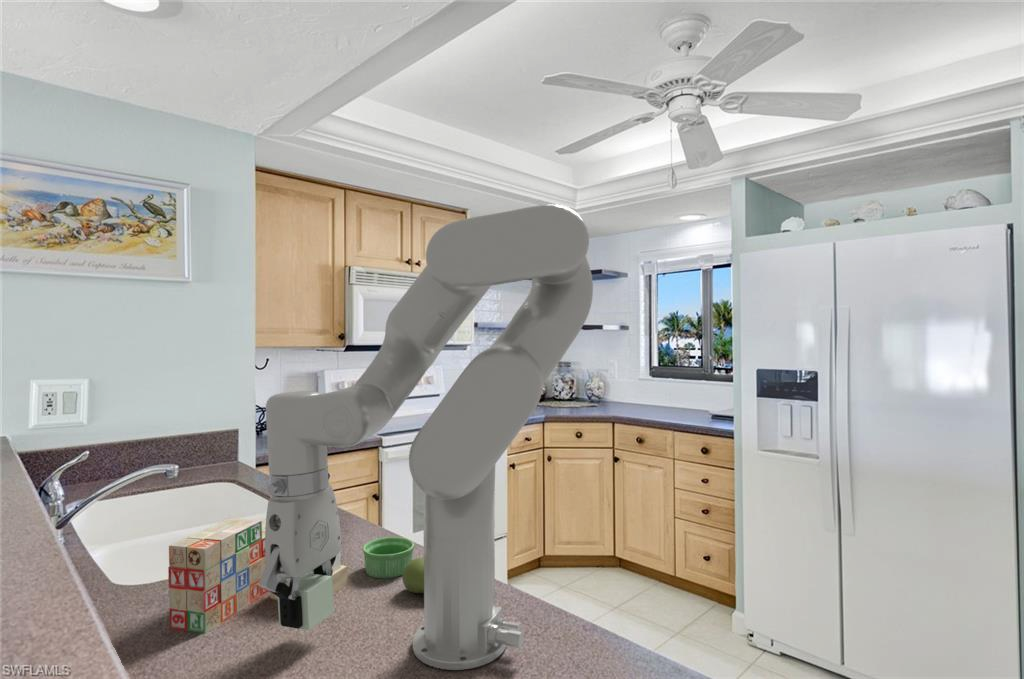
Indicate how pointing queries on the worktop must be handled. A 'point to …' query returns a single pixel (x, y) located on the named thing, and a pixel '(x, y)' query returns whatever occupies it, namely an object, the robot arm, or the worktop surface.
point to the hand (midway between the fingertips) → (306, 614)
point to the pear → (414, 576)
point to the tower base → (337, 578)
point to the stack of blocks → (215, 573)
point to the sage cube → (314, 599)
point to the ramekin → (387, 556)
